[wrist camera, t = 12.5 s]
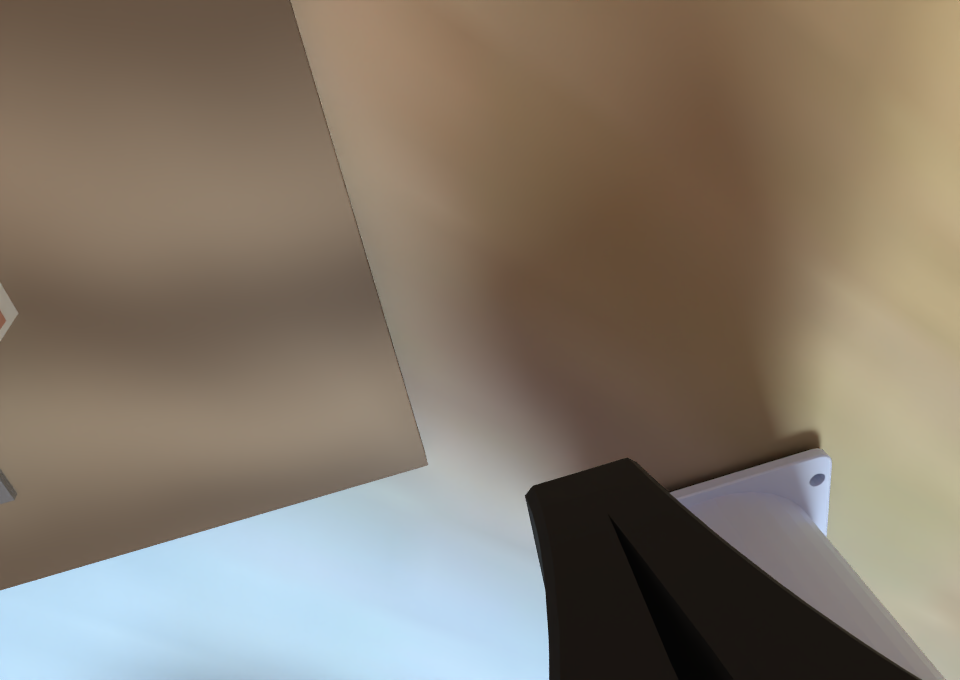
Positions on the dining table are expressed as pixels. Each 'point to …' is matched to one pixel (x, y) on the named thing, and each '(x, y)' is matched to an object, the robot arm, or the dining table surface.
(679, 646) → the robot arm
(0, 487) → the bookend
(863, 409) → the dining table surface
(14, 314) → the cream box brown top
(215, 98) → the shelf
